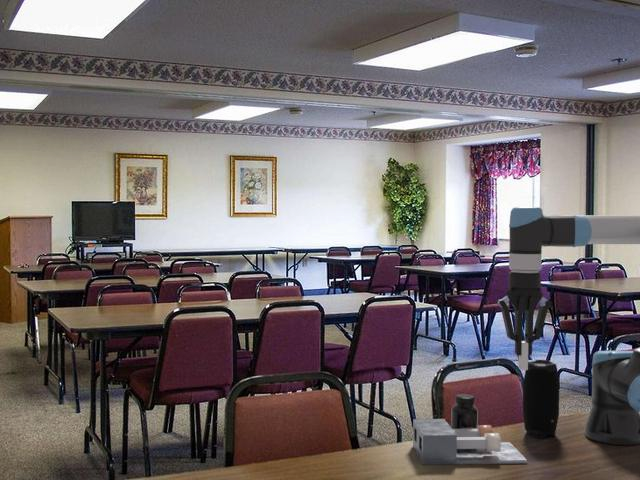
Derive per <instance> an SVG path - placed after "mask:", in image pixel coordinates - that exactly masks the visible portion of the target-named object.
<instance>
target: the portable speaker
mask: <svg viewBox="0 0 640 480" xmlns="http://www.w3.org/2000/svg"><path fill="white" fill-rule="evenodd" d="M524 371H525V372H524V376H523V381H522V415H523V424H524V430H525V431H526V432H527V434H528V435H529V437H530V438H536V439H544V438H545V437H546V436H550V435H551V436H552V437H555V436H556V432H557V426H558V423H559V422H558V421H559V418H560V417H559V416H560V380H559V373H558V367H557V363H554V362H552V361H550V360H548V359H547V360H546V359H535V360H533V361H528V370H524Z"/></svg>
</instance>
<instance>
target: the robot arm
mask: <svg viewBox="0 0 640 480" xmlns="http://www.w3.org/2000/svg"><path fill="white" fill-rule="evenodd" d="M508 227H509V251H508V253H509V254H508V257H509V258H508V269H509V270H511V271H509V273H508V289H507V292H506V295H505V296H504V297H503V298H502V299H501V298H500V299H497V301H496V303H497V305H498V306H499V308H500V310H501V315H502V319H503V322H504V323H503V324H504V329H505V332H506V333H505V334H506V337H507V338H508V339H510V340H511V341H514V354H515V355H516V356H518V357H517V358H518V365H517V367H518V369H520V370H521V371H526V370H528V362H529V356H532V354H533V343H534V342H535V341H537V340H540V339H541V336H542V332H543V328H544V325H545V322H546V317H547V314H548V311H549V309H550V307H551V306H552V304H553V302H552V301H551V300H550V299H547V298H546V297H544V295H543V293H542V288H541V287H542V274H541V272H540V271H541V270H542V253H543V252H542V251H543V249H542V248H544V247H560V248H561V247H562V248H564V247H566V248H571V247H572V248H576V247H586V246H587V245H640V215H605V214H604V215H600V214H599V215H598V214H597V215H594V214H593V215H591V214H590V215H588V214H585V215H582V214H581V215H580V214H579V215H577V214H576V215H573V214H572V215H571V214H569V215H568V214H567V215H563V214H561V215H559V214H558V215H557V214H553V215H549V214H548V215H547V214H545V215H544V212H543V209H542V208H541V207H539V206H538V207H537V206H536V207H534V206H532V207H531V206H530V207H529V206H525V207H524V206H523V207H522V206H518V207H517V206H515V207H513V208H512V209H511V210H510V214H509V224H508ZM509 302H510V303H509ZM510 304H511V305H512V307H513V312H514V326H513V322H512V321H513V320H512V316H511V312H510V309H509V305H510ZM538 304H539V309H538V312H537V316H536V320H535V323H534V314H535V309H536V307H537V306H538ZM524 316H525V317H524ZM523 317H524V318H523ZM524 319H525V321H524ZM523 321H524V322H523ZM523 323H524V324H523ZM523 325H524V326H523ZM523 327H524V328H523ZM523 329H524V340H523ZM591 367H592V369H591V372H592V373H591V375H592V376H591V379H592V380H591V381H592V383H591V408H590V410H589V413H588V415H587V418H586V421H585V424H584V436H585V437H587V438H588V439H589V440H593V441H595V442H598V443H605V444H609V445H617V446H634V445H635V446H636V445H640V347H637V348H635V349H633V350H598V351H596V352H594V353H593V356H592V364H591Z"/></svg>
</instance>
